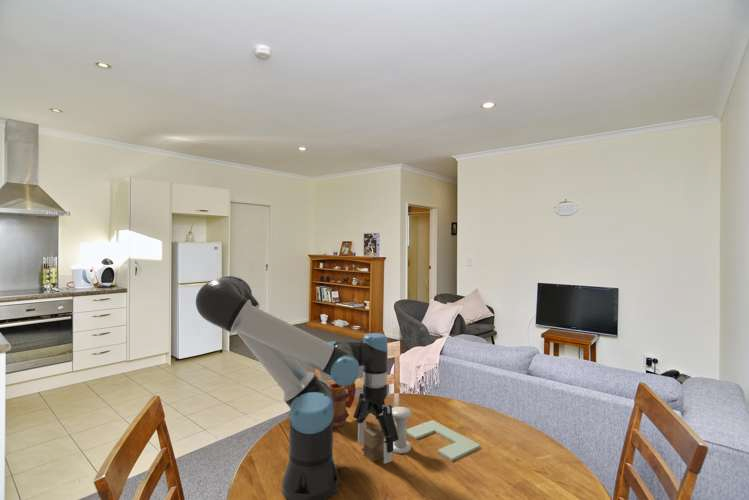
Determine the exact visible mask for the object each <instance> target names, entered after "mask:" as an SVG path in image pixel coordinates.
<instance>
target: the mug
mask: <svg viewBox="0 0 749 500" xmlns="http://www.w3.org/2000/svg"><path fill="white" fill-rule="evenodd" d="M328 386H329V388H330V389H331V391H332V394H333V399H334V403H333V408H334V416H333V427H340V426H341V427H342V426H343V425H344V424H346V422H347V418H348V417H349V416H350V415H349V413H348V410H347V409H346V408H349V409H350V408H351V407H352V405H353V403H354V400H355V397H356V389H357V388H356V381H355V382H354V383H352V384H351V385H348V386H341V385H338V384H337V383H336V382H334V383H331V384H328ZM346 390H347V391H346Z"/></svg>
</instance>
